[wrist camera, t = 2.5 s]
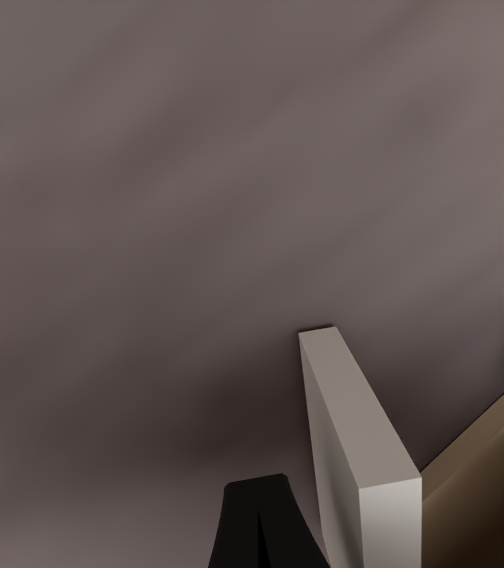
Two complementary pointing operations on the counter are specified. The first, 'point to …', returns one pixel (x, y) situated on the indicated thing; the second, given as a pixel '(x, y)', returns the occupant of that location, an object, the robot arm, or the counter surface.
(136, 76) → the counter surface
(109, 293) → the counter surface
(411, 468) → the door
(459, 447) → the beige rectangular block
